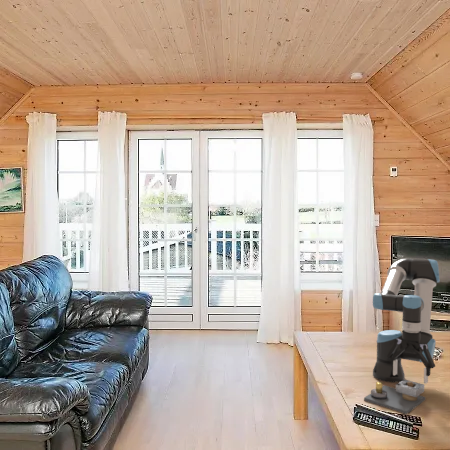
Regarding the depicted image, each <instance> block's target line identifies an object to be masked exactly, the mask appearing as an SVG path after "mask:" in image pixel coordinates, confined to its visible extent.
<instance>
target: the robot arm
mask: <svg viewBox="0 0 450 450" xmlns="http://www.w3.org/2000/svg"><path fill="white" fill-rule="evenodd" d="M405 280H407V281H411V283H412V284H413V286H414V294H405V295H398V294H399V292H400V289H401V286H402V283H403V282H404V281H405ZM440 281H441V279H440V268H439V262H438V261H437V260H435V259H430V258H427V259H425V258H413V257H412V258H410V257H409V258H408V257H407V258H405V257H404V258H401V259H399V260H396V261H395V262H393V263H392V264H391V265H390V266H389V267H388V269H387V272H386V279H385V281H384V283H383V287H382V289H381V291H380V292H378V293H377V292H375V293H374V294H373V295H372V306H373V308H374V310H375V309H376V310H381V311H392V312H398V313H402V324H401V328H402V330H401V331H400V330H399V329H398V330H396V329H386V330H382V331H379V332H378V333H377V337H376V361H375V364H374V367H373V369H372V376H373V378H375V379H377V380H379V381H380V382H386V383H399V382H401V381H402V380H404V379H405V378H406V376H405V372H404V368H403V364H402V360H405V361H406V360H407V361H411V362H412V361H414V362H417V363H418V362H419V363H422V364H423V366H424V368H423V384H424V385H426V384H427V383H429V377H430V376H431V369H434V368H435V367H436V363H435V362H434V360H433V357H434V356H435V355H434V354H435V350H436V345H437V344H436V339H435V338H433V334H432V333H431V332H430V331H431V330H430V329H431V317H432V302H433V289H434V288H436V287H437V283H441V282H440ZM405 380H406V379H405Z"/></svg>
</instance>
